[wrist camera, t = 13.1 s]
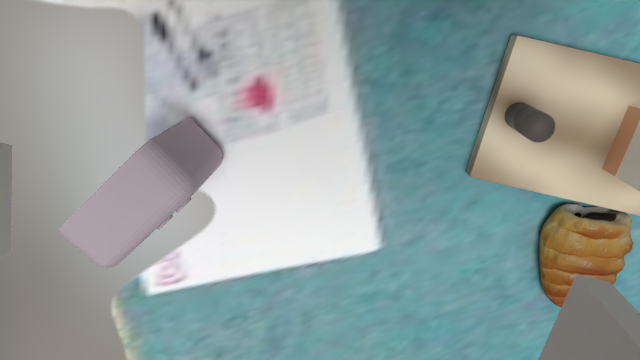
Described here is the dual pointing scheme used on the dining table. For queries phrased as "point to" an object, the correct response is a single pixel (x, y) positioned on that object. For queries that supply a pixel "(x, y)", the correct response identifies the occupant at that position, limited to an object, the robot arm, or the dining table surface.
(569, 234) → the pastry
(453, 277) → the dining table surface
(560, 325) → the robot arm
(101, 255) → the electronic device
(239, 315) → the dining table surface
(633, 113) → the sleeve
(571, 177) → the pin board
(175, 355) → the dining table surface
